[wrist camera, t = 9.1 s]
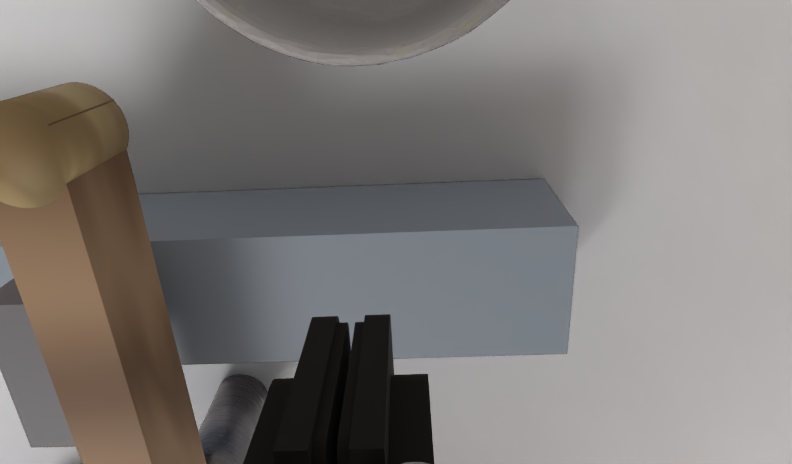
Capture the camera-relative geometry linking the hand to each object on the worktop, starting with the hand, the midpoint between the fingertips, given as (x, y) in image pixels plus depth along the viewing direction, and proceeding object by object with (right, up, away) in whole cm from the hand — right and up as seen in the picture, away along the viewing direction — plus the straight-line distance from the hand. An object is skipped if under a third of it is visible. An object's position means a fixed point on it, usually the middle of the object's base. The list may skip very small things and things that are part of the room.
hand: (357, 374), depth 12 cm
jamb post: (-7, -5, +16) cm, 17 cm away
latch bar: (-7, -1, +6) cm, 10 cm away
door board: (-5, +3, +12) cm, 13 cm away
